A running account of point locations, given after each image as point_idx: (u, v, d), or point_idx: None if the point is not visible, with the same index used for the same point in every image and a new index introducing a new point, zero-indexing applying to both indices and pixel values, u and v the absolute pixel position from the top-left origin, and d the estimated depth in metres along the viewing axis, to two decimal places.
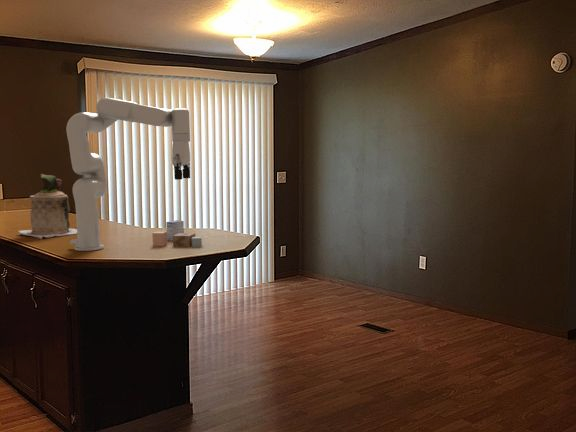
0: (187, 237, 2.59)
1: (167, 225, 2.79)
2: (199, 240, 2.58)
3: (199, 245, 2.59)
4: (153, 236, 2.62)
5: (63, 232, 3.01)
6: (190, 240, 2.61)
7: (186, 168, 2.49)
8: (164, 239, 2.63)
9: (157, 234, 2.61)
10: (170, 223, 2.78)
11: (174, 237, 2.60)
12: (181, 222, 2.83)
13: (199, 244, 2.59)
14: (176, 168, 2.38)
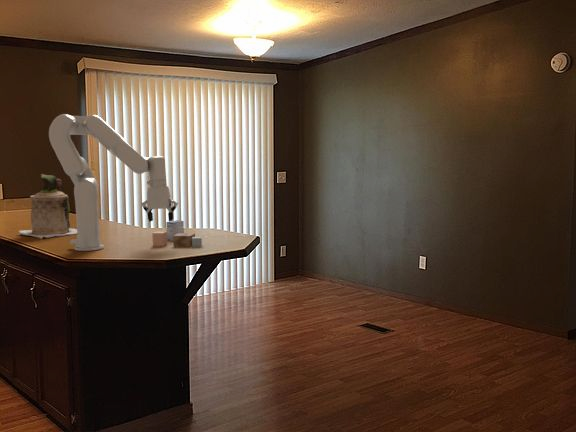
0: (187, 237, 2.60)
1: (167, 225, 2.79)
2: (199, 240, 2.58)
3: (199, 245, 2.59)
4: (153, 236, 2.62)
5: (63, 232, 3.01)
6: (191, 240, 2.61)
7: (150, 211, 2.64)
8: (164, 239, 2.63)
9: (157, 234, 2.61)
10: (170, 223, 2.78)
11: (174, 237, 2.60)
12: (181, 222, 2.83)
13: (199, 244, 2.59)
14: (173, 210, 2.61)
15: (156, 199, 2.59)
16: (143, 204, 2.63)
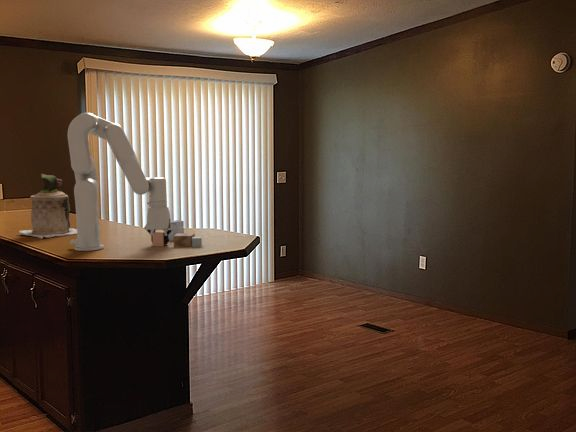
0: (188, 237, 2.60)
1: None
2: (199, 240, 2.58)
3: (199, 245, 2.59)
4: (153, 236, 2.62)
5: (64, 232, 3.01)
6: (191, 240, 2.61)
7: None
8: None
9: (157, 234, 2.61)
10: None
11: (175, 237, 2.60)
12: (181, 222, 2.83)
13: (199, 244, 2.59)
14: (168, 234, 2.63)
15: (156, 220, 2.60)
16: (146, 227, 2.64)
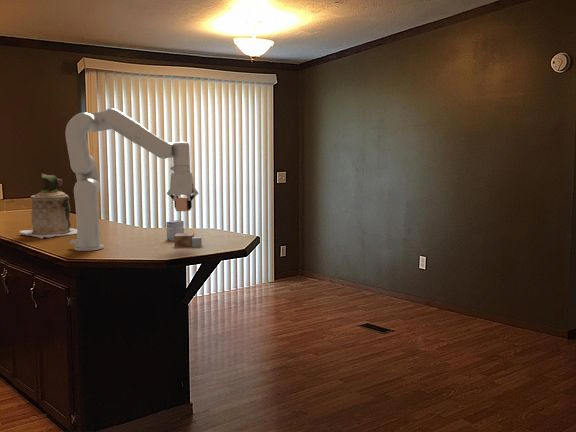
0: (189, 237, 2.60)
1: (167, 225, 2.79)
2: (199, 240, 2.58)
3: (199, 245, 2.59)
4: (176, 201, 2.60)
5: (64, 232, 3.01)
6: None
7: None
8: None
9: (180, 199, 2.59)
10: (170, 223, 2.78)
11: (176, 237, 2.60)
12: (181, 222, 2.83)
13: (199, 244, 2.59)
14: (192, 199, 2.61)
15: (179, 185, 2.58)
16: (169, 193, 2.62)
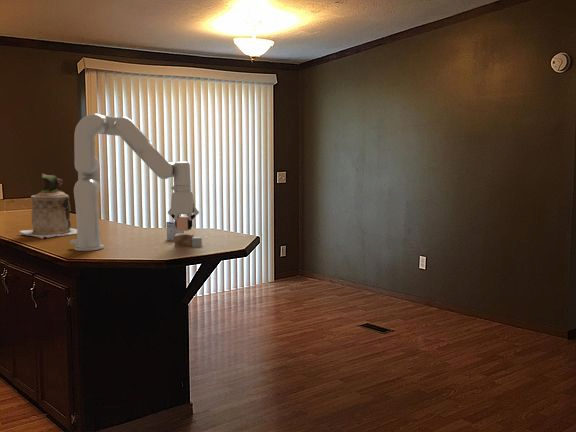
0: (189, 237, 2.60)
1: (167, 225, 2.79)
2: (199, 240, 2.58)
3: (199, 245, 2.59)
4: (177, 220, 2.61)
5: (64, 232, 3.01)
6: None
7: None
8: None
9: (181, 218, 2.60)
10: (170, 223, 2.78)
11: (176, 237, 2.60)
12: None
13: (199, 244, 2.59)
14: (192, 218, 2.62)
15: (180, 205, 2.59)
16: (170, 212, 2.63)
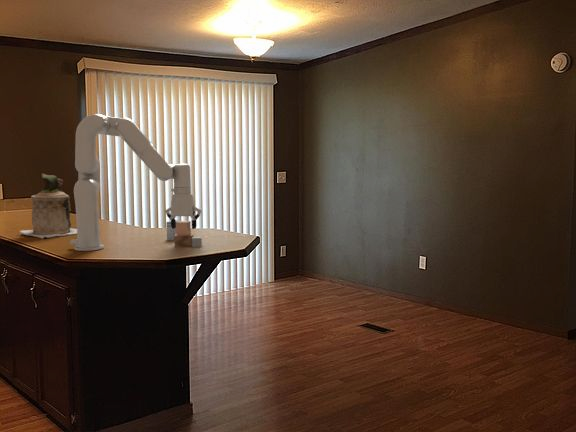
0: (189, 237, 2.60)
1: (167, 225, 2.79)
2: (199, 240, 2.58)
3: (199, 245, 2.59)
4: (177, 225, 2.61)
5: (64, 232, 3.01)
6: None
7: (174, 219, 2.64)
8: (188, 228, 2.63)
9: (181, 223, 2.61)
10: (170, 223, 2.78)
11: (176, 237, 2.60)
12: None
13: (199, 244, 2.59)
14: (196, 218, 2.62)
15: (180, 207, 2.59)
16: (167, 211, 2.63)
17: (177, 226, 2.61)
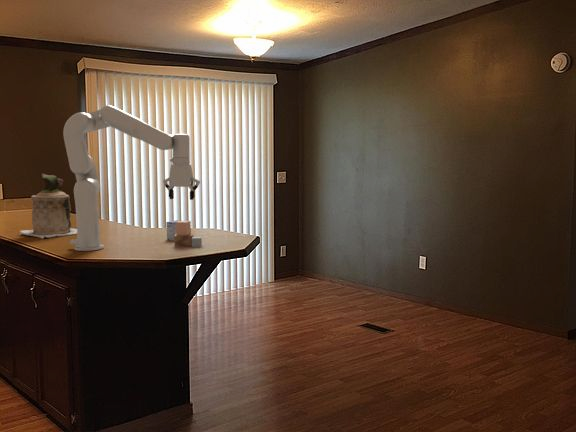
0: (189, 237, 2.60)
1: (167, 225, 2.79)
2: (199, 240, 2.58)
3: (199, 245, 2.59)
4: (176, 225, 2.61)
5: (64, 232, 3.01)
6: None
7: (172, 189, 2.62)
8: (188, 228, 2.63)
9: (181, 223, 2.61)
10: (170, 223, 2.78)
11: (176, 237, 2.60)
12: None
13: (199, 244, 2.59)
14: (195, 189, 2.60)
15: (178, 177, 2.58)
16: (165, 181, 2.62)
17: (177, 226, 2.61)
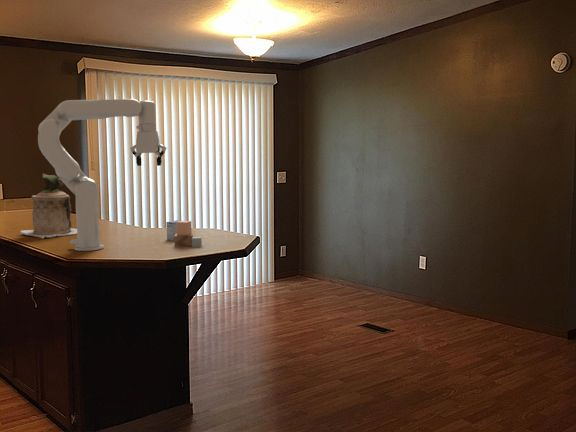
0: (189, 237, 2.60)
1: (167, 225, 2.79)
2: (199, 240, 2.58)
3: (199, 245, 2.59)
4: (177, 225, 2.61)
5: (65, 232, 3.01)
6: None
7: (139, 156, 2.67)
8: (189, 228, 2.63)
9: (181, 223, 2.61)
10: (170, 223, 2.78)
11: (176, 237, 2.60)
12: None
13: (199, 244, 2.59)
14: (161, 155, 2.64)
15: (145, 143, 2.62)
16: (132, 148, 2.66)
17: (177, 226, 2.61)
